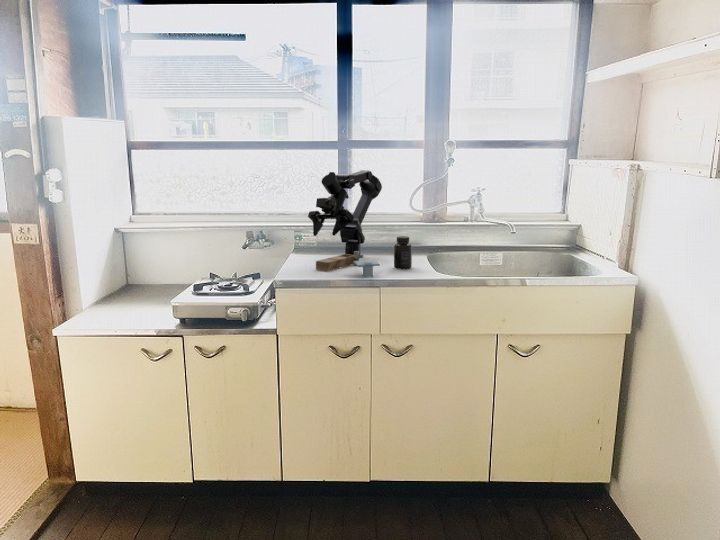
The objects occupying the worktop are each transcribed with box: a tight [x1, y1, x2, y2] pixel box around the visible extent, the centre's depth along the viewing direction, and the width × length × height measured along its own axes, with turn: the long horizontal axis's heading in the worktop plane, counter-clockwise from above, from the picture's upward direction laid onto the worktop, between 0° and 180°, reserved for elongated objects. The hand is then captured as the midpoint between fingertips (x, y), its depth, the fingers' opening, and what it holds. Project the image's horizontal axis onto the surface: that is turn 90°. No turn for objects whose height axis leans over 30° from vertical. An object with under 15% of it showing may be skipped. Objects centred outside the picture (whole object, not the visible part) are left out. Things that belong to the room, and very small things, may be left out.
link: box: [315, 253, 354, 272], centre depth 205 cm, size 18×6×3 cm, turn 143°
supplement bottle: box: [393, 235, 413, 270], centre depth 202 cm, size 7×7×12 cm
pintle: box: [353, 251, 360, 267], centre depth 207 cm, size 2×2×6 cm
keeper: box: [353, 259, 381, 278], centre depth 191 cm, size 7×8×4 cm
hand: (323, 235), depth 200 cm, fingers open, 9 cm apart
